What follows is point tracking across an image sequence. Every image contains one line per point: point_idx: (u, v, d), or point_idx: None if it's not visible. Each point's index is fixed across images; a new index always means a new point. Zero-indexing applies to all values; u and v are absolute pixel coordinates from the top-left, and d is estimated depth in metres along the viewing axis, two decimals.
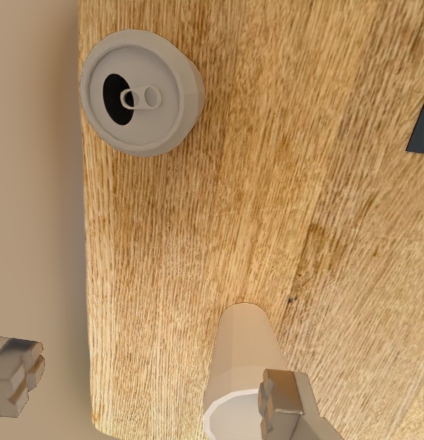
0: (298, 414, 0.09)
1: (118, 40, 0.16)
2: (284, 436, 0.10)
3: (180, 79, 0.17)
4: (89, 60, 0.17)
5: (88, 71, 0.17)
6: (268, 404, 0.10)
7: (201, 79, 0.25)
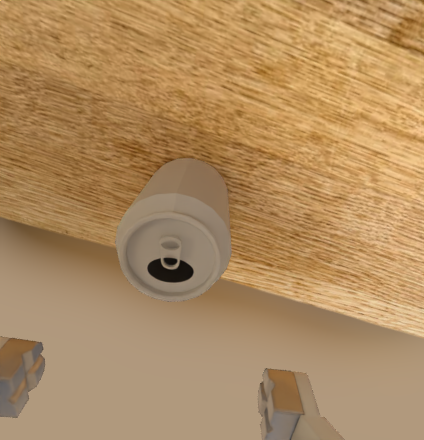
0: (298, 414, 0.09)
1: (119, 258, 0.18)
2: (284, 436, 0.10)
3: (157, 214, 0.17)
4: (133, 285, 0.19)
5: (142, 288, 0.19)
6: (268, 404, 0.10)
7: (177, 164, 0.25)
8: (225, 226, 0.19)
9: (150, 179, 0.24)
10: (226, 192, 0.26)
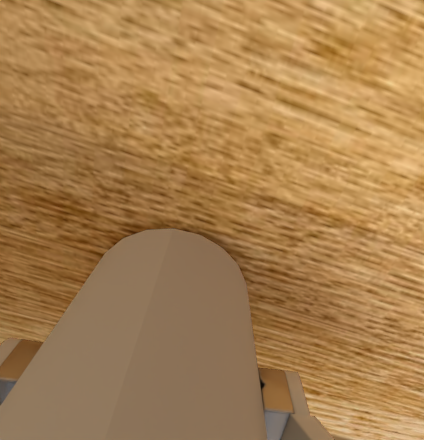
0: (288, 413, 0.09)
1: None
2: (274, 435, 0.10)
3: None
4: None
5: None
6: None
7: (141, 252, 0.11)
8: None
9: (81, 288, 0.11)
10: (247, 303, 0.12)
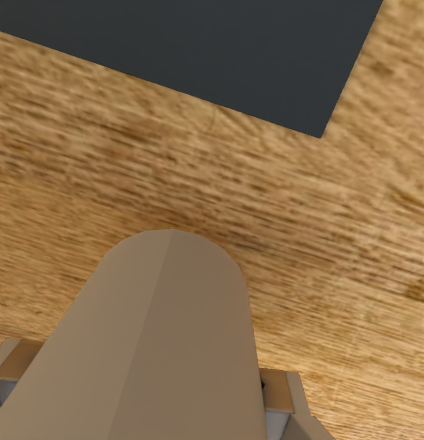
0: (288, 413, 0.09)
1: None
2: (275, 435, 0.10)
3: None
4: None
5: None
6: None
7: (142, 253, 0.11)
8: None
9: (82, 289, 0.11)
10: (247, 304, 0.12)
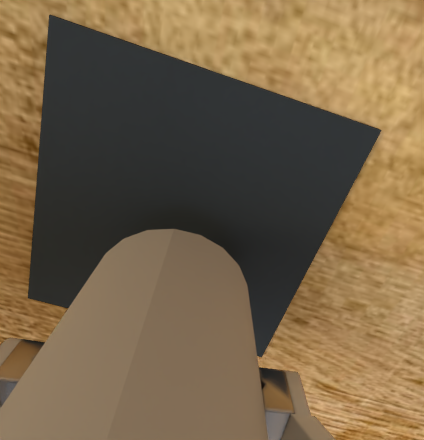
0: (288, 413, 0.09)
1: None
2: (275, 435, 0.10)
3: None
4: None
5: None
6: None
7: (142, 253, 0.11)
8: None
9: (82, 289, 0.11)
10: (247, 304, 0.12)
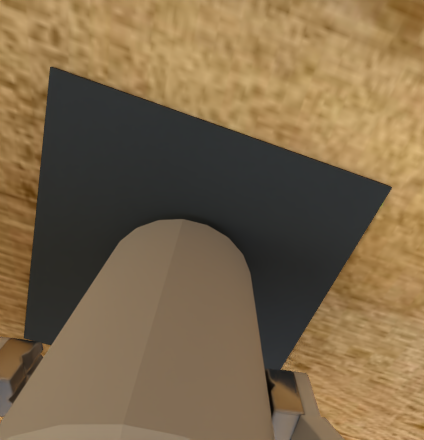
0: (298, 414, 0.09)
1: None
2: (284, 436, 0.10)
3: None
4: None
5: None
6: None
7: (155, 239, 0.12)
8: None
9: (100, 271, 0.12)
10: (250, 288, 0.13)
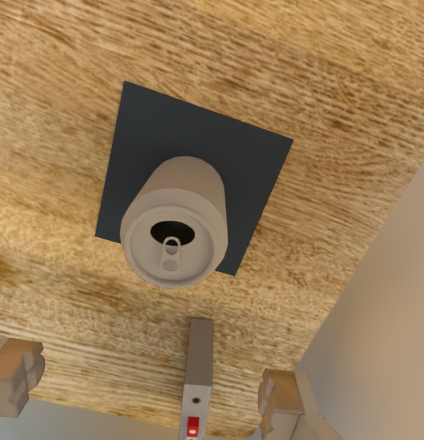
0: (298, 414, 0.09)
1: (217, 251, 0.20)
2: (284, 436, 0.10)
3: (181, 288, 0.21)
4: (207, 224, 0.19)
5: (199, 220, 0.19)
6: (268, 404, 0.10)
7: (191, 237, 0.29)
8: None
9: None
10: None
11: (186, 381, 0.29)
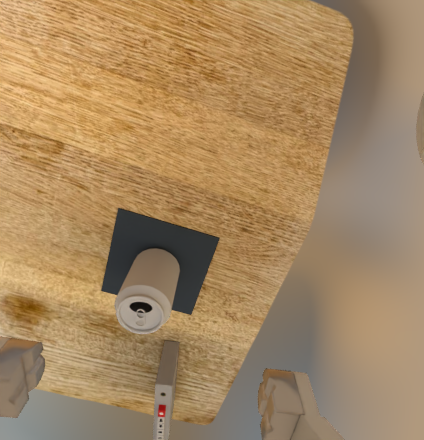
0: (298, 414, 0.09)
1: (163, 316, 0.39)
2: (284, 436, 0.10)
3: (146, 333, 0.40)
4: (157, 304, 0.38)
5: (153, 302, 0.38)
6: (268, 404, 0.10)
7: None
8: None
9: None
10: None
11: (156, 382, 0.48)
